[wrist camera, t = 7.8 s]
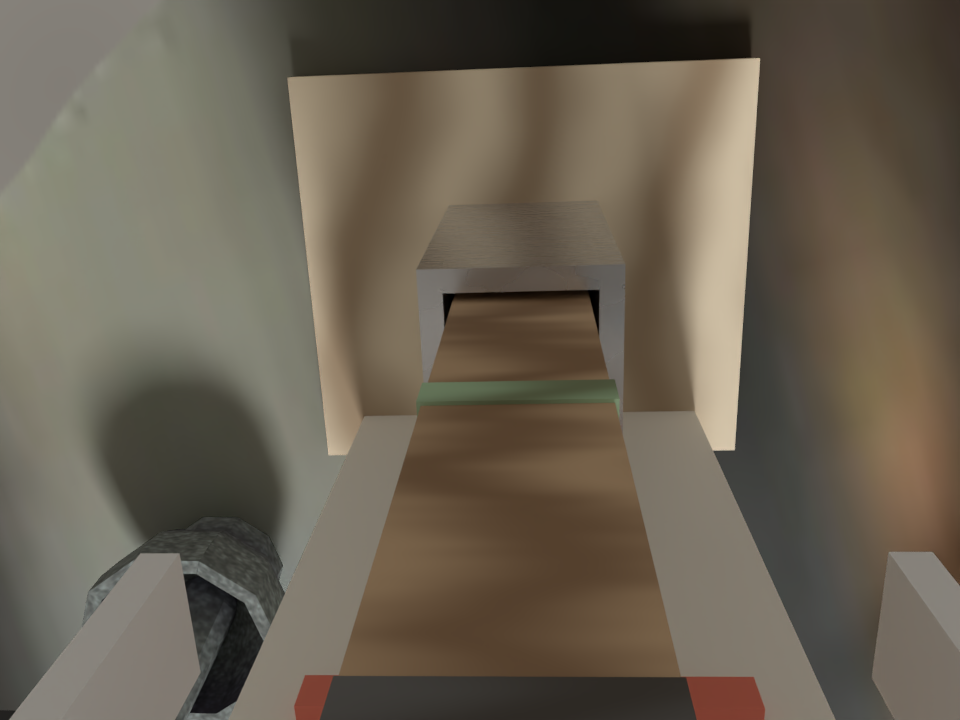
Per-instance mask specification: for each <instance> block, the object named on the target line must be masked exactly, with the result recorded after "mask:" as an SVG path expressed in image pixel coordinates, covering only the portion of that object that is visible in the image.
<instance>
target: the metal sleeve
mask: <svg viewBox="0 0 960 720" xmlns="http://www.w3.org/2000/svg"><path fill="white" fill-rule="evenodd" d="M416 277H417V292H418V307H419V322H420V337H421V352H422V367H423V382H424V383H428V380H429V377H430V374H431V370H432V367H433V364H434V360H435V357H436V354H437V351H438V347H439V344H440V341H441V337H442V334H443V331H444V328H445V324H446V321H447V318H448V314H449V311H450V308H451V305H452V301H453V298H454V295H455V293H480V292H521V291H561V290H588V293H589V297H590V301H591V305H592V309H593V313H594V318H595V322H596V326H597V330H598V334H599V338H600V342H601V347H602V351H603V355H604V359H605V363H606V367H607V372H608V376H609V379H615V383H616V387H617V391H618V394H619V398H620V401H619V421H620V426H621V430H622V434H623V381H624V322H625V262H624V260H623V257H622V255H621V253H620V251H619V248H618V246H617V244H616V242H615V239H614V237H613V235H612V233H611V230H610V228H609V226H608V224H607V221H606V219H605V217H604V215H603V212H602V210H601V208H600V206H599V203H598V201H570V202H538V203H506V204H473V205H449V206H448V208H447V210H446V212H445V214H444V216H443V218H442V220H441V222H440V224H439V226H438V228H437V230H436V232H435V234H434V236H433V237H432V239H431V241H430V243H429V245H428V247H427V249H426V251H425V253H424V255H423V257H422V259H421V261H420V263H419V265H418V267H417V269H416Z"/></svg>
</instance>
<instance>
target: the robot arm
mask: <svg viewBox="0 0 960 720" xmlns="http://www.w3.org/2000/svg"><path fill="white" fill-rule="evenodd" d="M200 673H201V672H200V666H199V660H198V655H197V649H196V644H195V638H194V632H193V627H192V621H191V615H190V610H189V604H188V599H187V593H186V587H185V582H184V576H183V570H182V565H181V559H180V554H179V553H140V555H139V556H138V557H137V558H136V560H135V561H134V562H133V564H132V565H131V566H130V567H129V569H128V570H127V571H126V572H125V574H124V575H123V576H122V577H121V579H120V580H119V581H118V583H117V584H116V585H115V586H114V588H113V589H112V590H111V591H110V593H109V594H108V595H107V596H106V598H105V599H104V600H103V601H102V603H101V604H100V605H99V607H98V608H97V609H96V610H95V612H94V613H93V614H92V615H91V617H90V618H89V619H88V620H87V622H86V623H85V624H84V626H83V627H82V628H81V629H80V631H79V632H78V633H77V634H76V636H75V637H74V638H73V639H72V641H71V642H70V643H69V644H68V646H67V647H66V648H65V650H64V651H63V652H62V653H61V655H60V656H59V657H58V658H57V660H56V661H55V662H54V663H53V665H52V666H51V667H50V669H49V670H48V671H47V672H46V674H45V675H44V676H43V677H42V679H41V680H40V681H39V682H38V684H37V685H36V686H35V687H34V689H33V690H32V691H31V693H30V694H29V695H28V696H27V698H26V699H25V700H24V701H23V703H22V704H21V705H20V706H19V708H18V709H17V710H16V711H5V710H0V720H175V719H176V717H177V715H178V713H179V711H180V710H181V708H182V706H183V704H184V702H185V700H186V699H187V697H188V695H189V693H190V691H191V689H192V687H193V686H194V684H195V682H196V680H197V678H198V676H199V675H200ZM872 679H873V681H874V683H875V685H876V686H877V688H878V690H879V692H880V694H881V696H882V698H883V699H884V701H885V703H886V705H887V707H888V709H889V711H890V712H891V714H892V716H893V718H894V720H960V586H959V584H958V583H957V582H956V581H955V579H954V578H953V577H952V576H951V574H950V573H949V572H948V571H947V569H946V568H945V567H944V566H943V564H942V563H941V562H940V561H939V559H938V558H937V557H936V556H935V554H934V553H933V552H889V553H888V560H887V567H886V575H885V582H884V590H883V597H882V605H881V612H880V620H879V627H878V635H877V642H876V650H875V657H874V665H873V672H872Z"/></svg>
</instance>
